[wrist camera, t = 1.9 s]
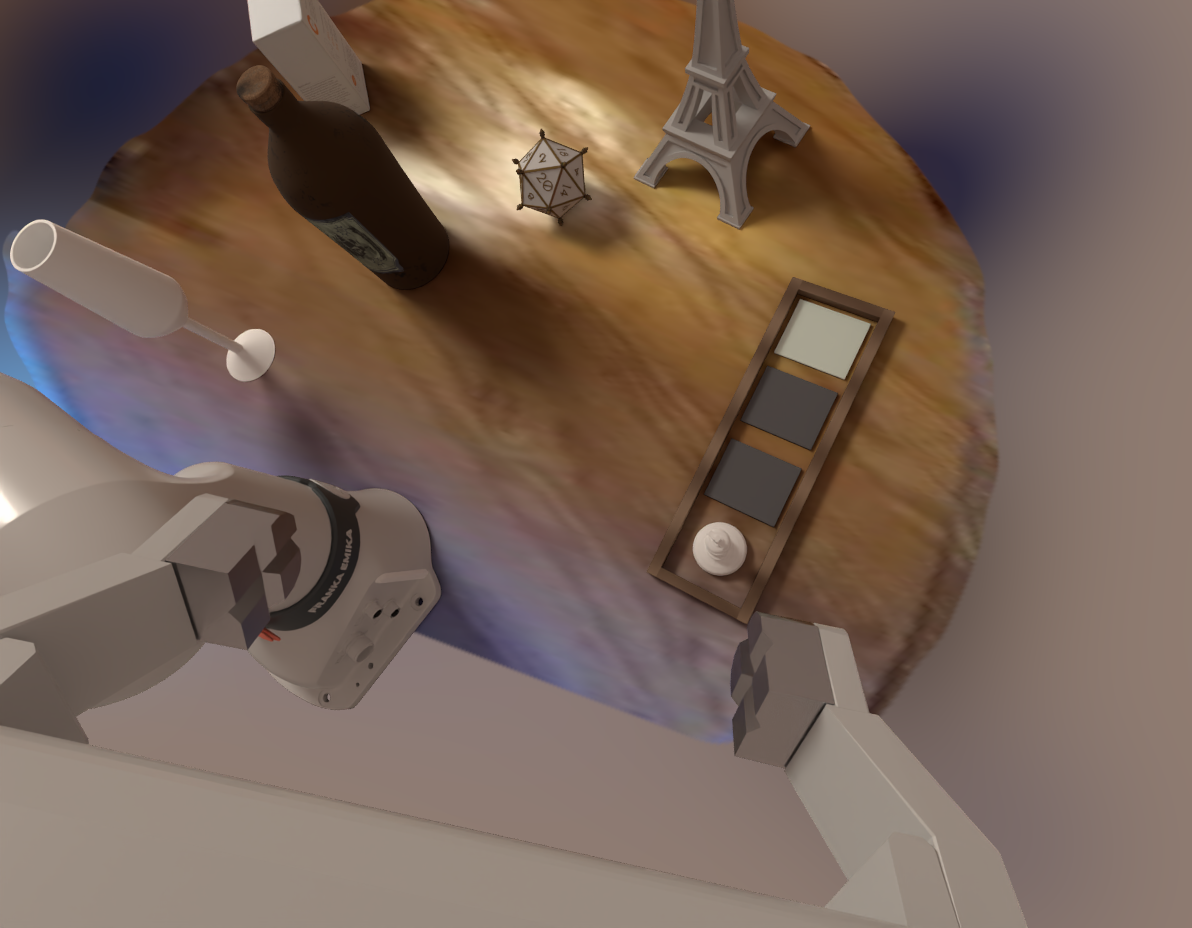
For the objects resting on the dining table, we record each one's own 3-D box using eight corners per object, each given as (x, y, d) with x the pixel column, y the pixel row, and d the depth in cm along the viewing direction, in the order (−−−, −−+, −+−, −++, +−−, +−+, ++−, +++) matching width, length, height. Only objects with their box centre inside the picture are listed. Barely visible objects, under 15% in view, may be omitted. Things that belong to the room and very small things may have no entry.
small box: (319, 80, 81) (244, -14, 68) (362, 62, 80) (294, -37, 68) (327, 129, 79) (250, 41, 66) (371, 111, 78) (302, 18, 65)
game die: (586, 220, 72) (617, 195, 63) (521, 243, 70) (544, 220, 61) (557, 143, 70) (586, 105, 61) (490, 164, 68) (509, 128, 59)
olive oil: (392, 204, 74) (230, 17, 50) (468, 222, 71) (334, 32, 47) (357, 284, 73) (173, 130, 49) (433, 304, 70) (278, 152, 46)
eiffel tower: (634, 179, 68) (561, -128, 39) (701, 83, 69) (678, -286, 40) (739, 230, 64) (743, -70, 35) (809, 128, 65) (869, -247, 36)
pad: (844, 379, 58) (844, 379, 58) (773, 353, 60) (774, 352, 60) (870, 324, 59) (870, 324, 59) (800, 299, 61) (800, 299, 61)
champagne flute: (284, 340, 73) (80, 222, 50) (256, 389, 73) (36, 293, 50) (244, 321, 75) (29, 199, 52) (216, 369, 74) (-13, 267, 52)
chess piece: (719, 511, 58) (716, 494, 49) (758, 549, 57) (763, 539, 47) (682, 548, 58) (671, 538, 49) (720, 587, 57) (717, 584, 47)
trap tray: (746, 624, 56) (746, 624, 55) (647, 572, 58) (646, 571, 57) (892, 316, 59) (895, 312, 58) (791, 281, 61) (793, 276, 60)
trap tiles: (773, 527, 57) (773, 526, 57) (704, 494, 59) (704, 494, 59) (837, 393, 58) (837, 393, 58) (767, 366, 60) (767, 365, 60)
